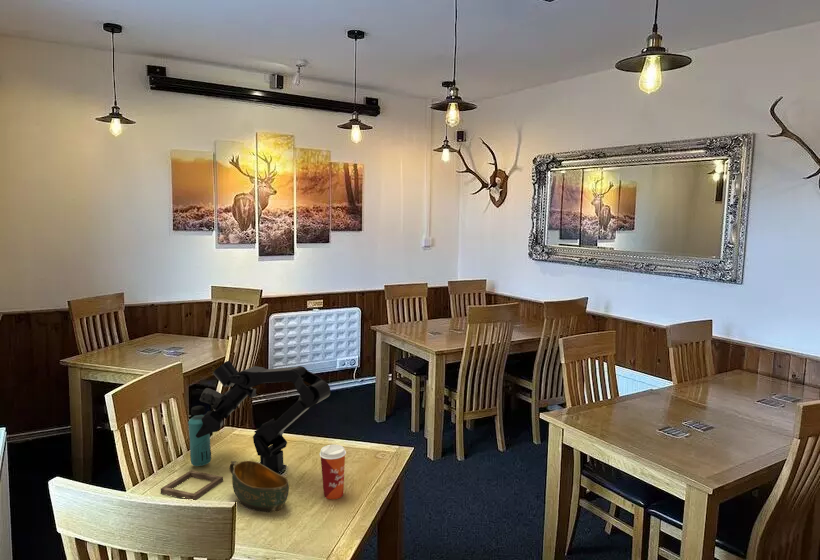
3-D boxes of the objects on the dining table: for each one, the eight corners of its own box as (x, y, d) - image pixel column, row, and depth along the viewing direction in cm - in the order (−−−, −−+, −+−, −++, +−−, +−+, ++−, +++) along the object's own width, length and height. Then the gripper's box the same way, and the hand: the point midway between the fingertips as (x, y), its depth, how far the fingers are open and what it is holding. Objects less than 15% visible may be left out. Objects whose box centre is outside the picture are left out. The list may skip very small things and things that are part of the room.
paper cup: (335, 504, 156) (334, 457, 154) (314, 496, 160) (313, 450, 158) (352, 492, 163) (351, 447, 161) (332, 485, 167) (331, 441, 165)
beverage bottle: (201, 472, 176) (198, 411, 173) (185, 468, 178) (182, 408, 176) (216, 463, 182) (213, 405, 179) (201, 460, 184) (197, 402, 182)
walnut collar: (223, 481, 170) (223, 476, 170) (194, 501, 158) (194, 496, 158) (191, 474, 174) (190, 470, 174) (160, 493, 163) (160, 488, 162)
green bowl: (270, 481, 170) (269, 450, 168) (293, 511, 153) (292, 477, 151) (228, 492, 163) (226, 460, 161) (246, 526, 146) (244, 490, 145)
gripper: (222, 372, 187) (191, 405, 188) (206, 390, 169) (171, 426, 169) (247, 394, 189) (215, 426, 189) (234, 413, 170) (199, 449, 171)
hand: (201, 431), depth 179 cm, fingers open, 9 cm apart
